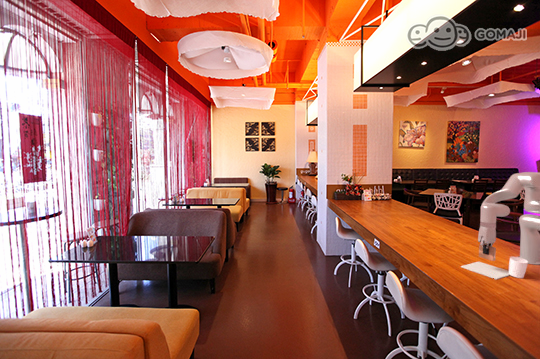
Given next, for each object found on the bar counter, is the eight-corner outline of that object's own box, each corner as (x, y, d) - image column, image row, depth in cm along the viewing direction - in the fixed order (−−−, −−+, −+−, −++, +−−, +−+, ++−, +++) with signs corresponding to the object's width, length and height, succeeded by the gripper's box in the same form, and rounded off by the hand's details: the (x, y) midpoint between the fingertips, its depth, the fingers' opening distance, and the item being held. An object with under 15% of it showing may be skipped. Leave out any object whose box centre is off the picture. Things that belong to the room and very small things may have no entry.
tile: (480, 256, 170) (481, 243, 170) (495, 260, 163) (495, 247, 162) (478, 256, 169) (479, 244, 169) (493, 260, 162) (493, 248, 161)
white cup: (507, 270, 163) (509, 255, 162) (524, 275, 158) (527, 259, 157) (507, 275, 157) (510, 259, 156) (525, 280, 152) (528, 264, 151)
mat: (478, 262, 179) (478, 261, 179) (514, 273, 161) (514, 272, 161) (460, 267, 173) (460, 266, 173) (496, 279, 154) (496, 278, 154)
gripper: (489, 222, 171) (488, 250, 172) (473, 224, 165) (472, 253, 167) (502, 224, 164) (501, 253, 165) (486, 227, 158) (485, 257, 160)
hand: (487, 253), depth 166 cm, fingers closed on tile, 1 cm apart
